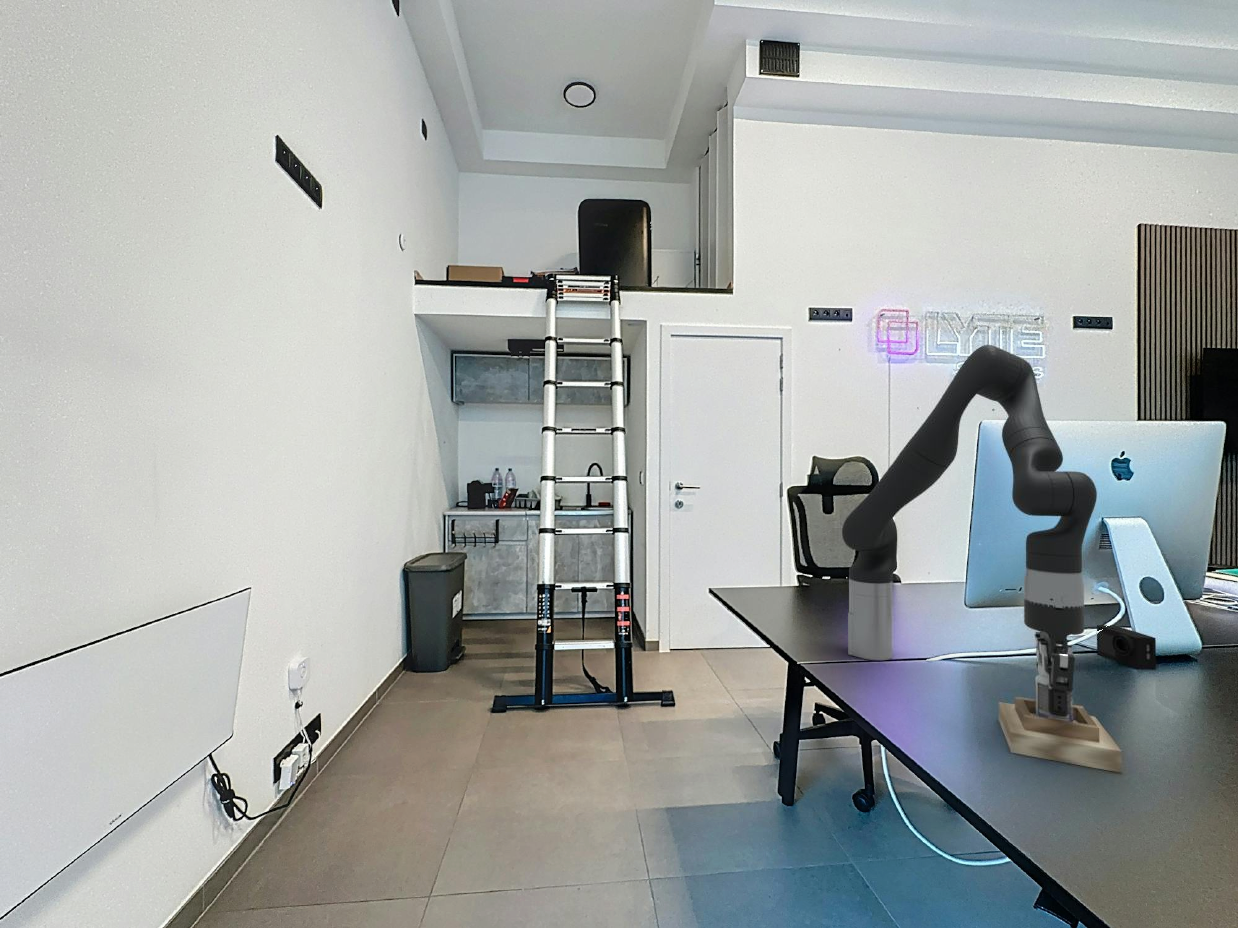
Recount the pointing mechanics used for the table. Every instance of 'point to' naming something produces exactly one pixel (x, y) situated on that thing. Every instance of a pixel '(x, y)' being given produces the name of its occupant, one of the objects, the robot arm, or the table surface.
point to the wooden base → (1058, 736)
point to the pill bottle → (1042, 697)
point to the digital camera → (1126, 647)
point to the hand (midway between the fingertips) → (1053, 707)
